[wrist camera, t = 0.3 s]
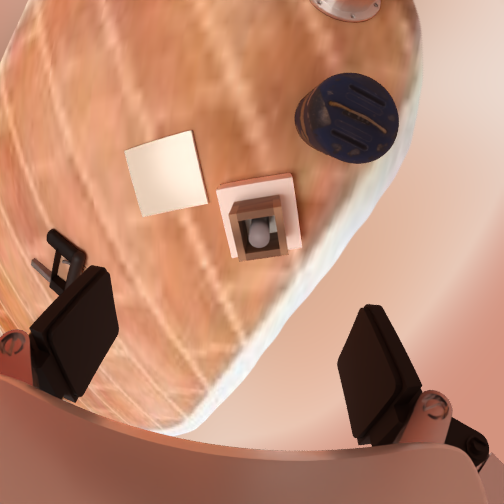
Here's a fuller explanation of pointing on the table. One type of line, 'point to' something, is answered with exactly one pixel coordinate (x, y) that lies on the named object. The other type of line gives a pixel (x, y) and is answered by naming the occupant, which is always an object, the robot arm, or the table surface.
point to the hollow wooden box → (257, 210)
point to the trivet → (167, 174)
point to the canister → (348, 118)
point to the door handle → (67, 252)
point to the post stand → (264, 225)
